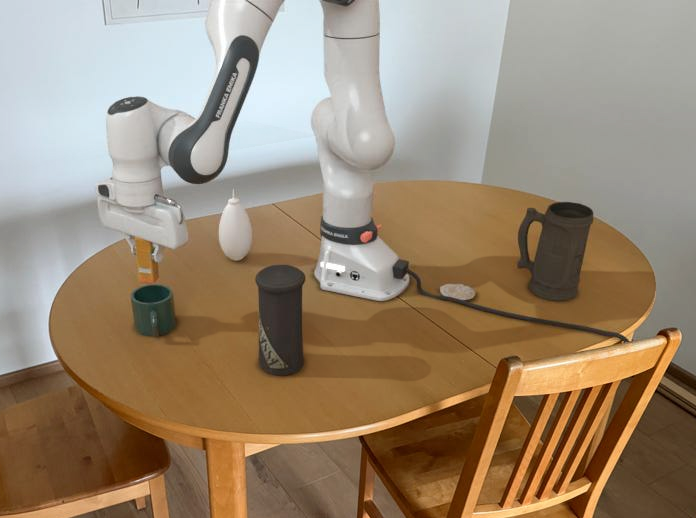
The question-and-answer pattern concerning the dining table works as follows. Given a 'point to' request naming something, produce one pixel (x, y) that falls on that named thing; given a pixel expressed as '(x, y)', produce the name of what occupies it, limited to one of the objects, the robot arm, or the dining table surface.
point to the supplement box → (146, 261)
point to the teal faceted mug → (153, 309)
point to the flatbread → (458, 291)
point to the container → (280, 319)
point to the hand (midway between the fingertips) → (147, 257)
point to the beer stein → (556, 249)
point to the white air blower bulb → (235, 230)
